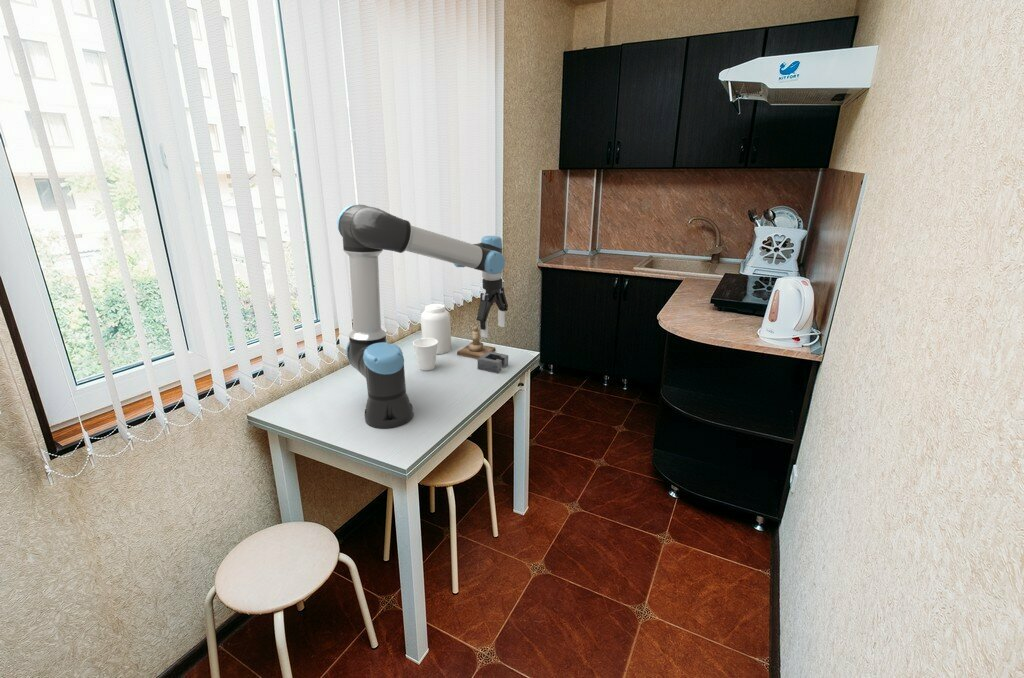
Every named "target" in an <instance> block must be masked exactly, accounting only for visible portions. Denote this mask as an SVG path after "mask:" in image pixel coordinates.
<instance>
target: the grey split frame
mask: <svg viewBox="0 0 1024 678" xmlns="http://www.w3.org/2000/svg"><path fill="white" fill-rule="evenodd" d="M507 367H509V355H508V354H506V353H500V352H496V351H494V352H491V351H488V352H487V353H485V354H484V355H482V356H481V357H479V358H478V359H477V370H480V371H485V372H490V373H493V374H499V373H501V372H502V369H506V368H507Z"/></svg>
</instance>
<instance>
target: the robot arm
mask: <svg viewBox="0 0 1024 678" xmlns="http://www.w3.org/2000/svg"><path fill="white" fill-rule="evenodd" d="M336 224H337V230H338V233H339V234H340V236H341V237H342V246H343V249H342V251H344V253H346V254H347V256H348V259H349V274H350V290H351V308H352V323H353V324H352V325H353V330H352V331H351V332H350V333H348V334H349V335H348V337H349V339H348V340H349V341H348V342H347V346H346V349H345V355H346V358H347V361H348V363H350V365H351V366H352V367H353V368H354V369H356V371H357V372H359V373H360V374H361V375H362V376H363V378H365V381H366V388H367V396H368V397H367V400H366V405H365V409H364V412H363V414H364V421H365V423H366V424H367V425H368V426H370V427H372V428H377V429H390V428H392V429H393V428H396V427H399V426H402V425H405V424H406V423H408V422H409V421H410V420H411V419H412V418H413V417H414V408H413V405H412V403H411V401H410V398H409V396H408V393H407V389H406V375H405V358H404V355H403V354H404V353H403V351H402V348H401V347H399V346H398V345H397V344H395V343H389V342H387V332H386V331H385V330H383V329H382V320H381V319H382V318H381V298H380V297H381V295H380V294H381V293H380V273H379V272H380V269H379V255H380V254H382V252H383V251H384V250H385V251H391V252H395V253H399V254H402V253H404V252H409V253H413V254H417V255H421V256H424V257H428V258H433V259H435V260H439V261H444V262H447V263H451V264H453V265H454V266H455V267H456V268H465V267H466V268H469V269H474V270H477V271H481V272H482V273H481V276H482V279H481V280H482V289H484V290H485V293H484V294H483V293H482V294H480V301H479V307H478V309H477V316H476V321H477V322H480V337H481V338H486V339H488V338H489V325H488V323H489V321H488V320H487V319H488V316H489V313H490V311H491V308H492V306H493V305H494V304H495V305H496V306H497V308H498V309H499V310H497V324H498V325H497V326H498V327H499V328H505V327H506V312H507V311H508V307H509V304H508V301H507V297H506V294H505V287H503V272H504V270H503V269H505V267H506V266H505V265H506V258H505V257H504V255H503V250H504V249H503V241H502V238H501V237H500V236H498V235H485V236H482V237H481V240H480V242H478V243H471V242H470V243H469V242H466V241H464V240H460V239H456V238H453V237H450V236H446V235H444V234H440V233H437V232H435V231H431V230H427V229H424V228H421V227H417V226H414V225H412V223H411V222H410V220H407V219H403V218H400V217H398V216H396V215H394V214H391V213H389V212H387V211H385V210H383V209H380V208H379V207H373V206H370V205H369V206H368V205H365V204H361V203H358V204H352V205H348V206H346V207H344V208H343V209H342V211H341V212H340V213H339V215H338V217H337V222H336Z"/></svg>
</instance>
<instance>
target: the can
mask: <svg viewBox="0 0 1024 678" xmlns="http://www.w3.org/2000/svg"><path fill="white" fill-rule="evenodd" d="M420 325H421V326H420V327H421V338H433V339H436V340H438V344H437V351H436V355H442V354H446V353H448V352H450V351H451V350H452V331H451V330H452V329H451V315H450V312H449V311H448V310H447V309H446V307H445V305H444V304H440V303H431V304H428V305H425V307H424V310H423V311H422V312H421V315H420Z"/></svg>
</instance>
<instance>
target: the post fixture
mask: <svg viewBox="0 0 1024 678" xmlns="http://www.w3.org/2000/svg"><path fill="white" fill-rule="evenodd" d="M471 331H472V332H471V333H472V336H471V337H472V342H469V344H468V345H465V346H463V348H461V349H459V350H458V351H456V356H460V357H465V358H469V359H474V360H478V358H479V357H481V356H482V355H484V354H485V353H487V352H488V351H491V352H496V347H495V346H489V345H485V344H484V343H483V342H481V341H480V337H481V331H480V330H479V326H478V325H474V326H473V330H471Z"/></svg>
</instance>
